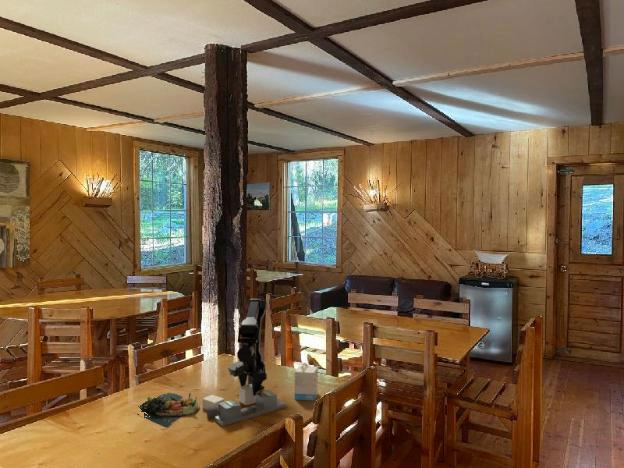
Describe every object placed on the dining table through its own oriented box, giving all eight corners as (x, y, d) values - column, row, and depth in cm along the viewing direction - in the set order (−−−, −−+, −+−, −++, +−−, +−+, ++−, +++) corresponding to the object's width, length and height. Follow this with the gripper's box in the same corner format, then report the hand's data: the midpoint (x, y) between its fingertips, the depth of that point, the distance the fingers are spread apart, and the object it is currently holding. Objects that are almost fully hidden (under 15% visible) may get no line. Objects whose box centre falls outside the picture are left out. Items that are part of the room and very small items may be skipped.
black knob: (205, 416, 171) (205, 408, 171) (214, 413, 173) (215, 405, 173) (210, 419, 168) (210, 411, 168) (220, 416, 170) (220, 408, 170)
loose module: (239, 401, 185) (239, 386, 185) (251, 398, 189) (251, 383, 189) (245, 405, 181) (245, 389, 181) (258, 401, 185) (258, 386, 185)
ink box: (314, 401, 186) (314, 368, 185) (294, 399, 187) (294, 367, 187) (318, 393, 194) (318, 362, 194) (298, 392, 196) (299, 361, 195)
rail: (214, 420, 167) (214, 403, 167) (277, 402, 184) (278, 387, 184) (222, 426, 162) (222, 409, 162) (286, 407, 180) (286, 391, 179)
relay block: (202, 408, 178) (202, 398, 178) (212, 404, 182) (212, 394, 182) (214, 413, 174) (214, 402, 174) (224, 408, 178) (224, 398, 178)
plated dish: (227, 409, 179) (227, 390, 179) (168, 437, 156) (168, 416, 156) (170, 390, 199) (170, 374, 199) (110, 413, 176) (110, 394, 176)
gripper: (220, 352, 187) (220, 389, 187) (242, 363, 172) (242, 404, 173) (243, 347, 194) (243, 384, 194) (267, 358, 179) (267, 397, 180)
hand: (248, 392), depth 185 cm, fingers open, 9 cm apart
